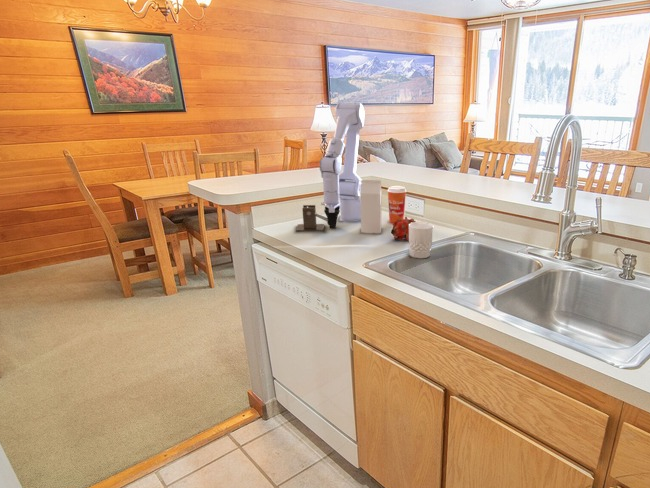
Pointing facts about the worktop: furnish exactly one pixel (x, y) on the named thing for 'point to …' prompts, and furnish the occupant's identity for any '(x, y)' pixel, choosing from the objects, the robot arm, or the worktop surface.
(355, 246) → the worktop surface
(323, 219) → the faucet lever
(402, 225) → the dragon fruit
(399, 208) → the paper cup
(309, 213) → the faucet bracket
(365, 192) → the milk carton
